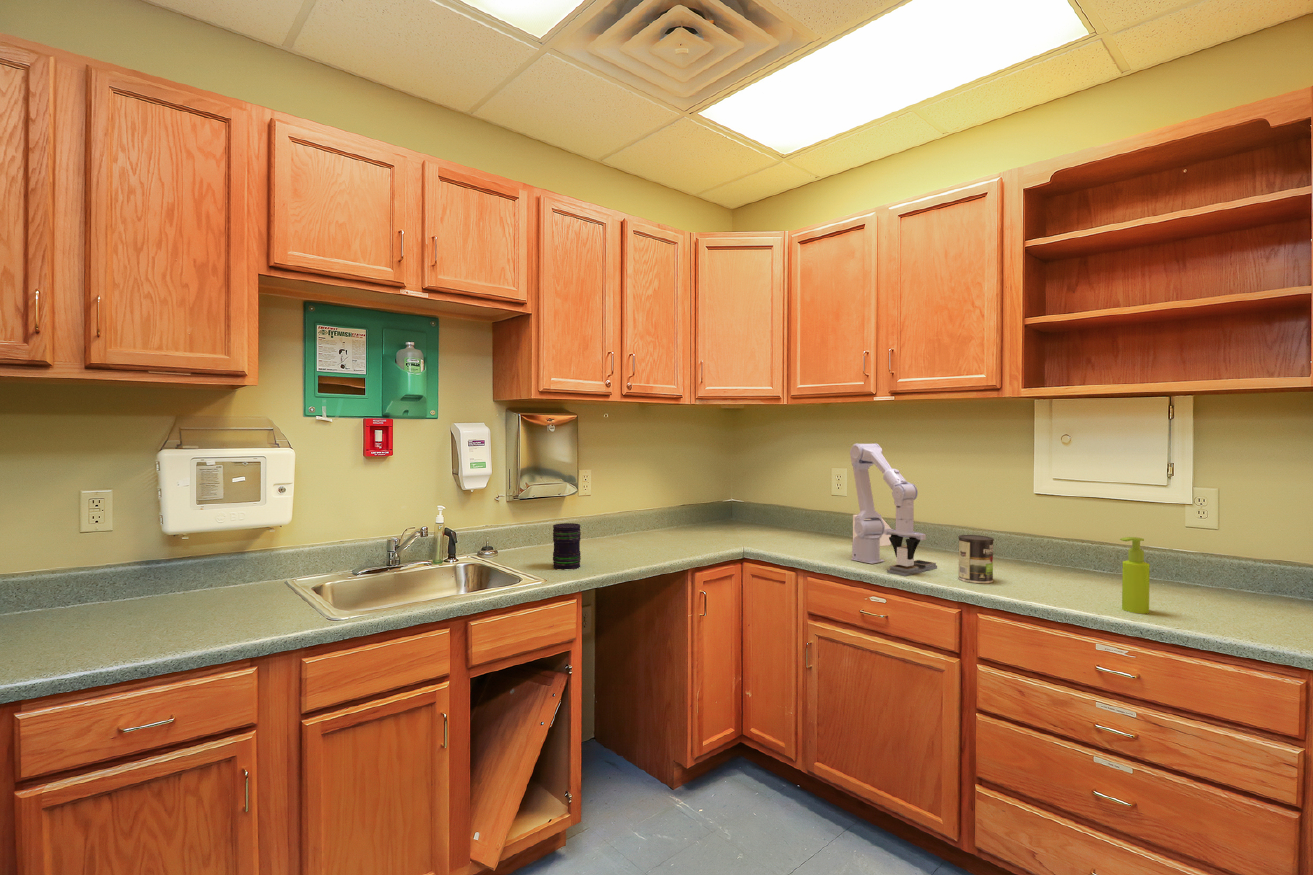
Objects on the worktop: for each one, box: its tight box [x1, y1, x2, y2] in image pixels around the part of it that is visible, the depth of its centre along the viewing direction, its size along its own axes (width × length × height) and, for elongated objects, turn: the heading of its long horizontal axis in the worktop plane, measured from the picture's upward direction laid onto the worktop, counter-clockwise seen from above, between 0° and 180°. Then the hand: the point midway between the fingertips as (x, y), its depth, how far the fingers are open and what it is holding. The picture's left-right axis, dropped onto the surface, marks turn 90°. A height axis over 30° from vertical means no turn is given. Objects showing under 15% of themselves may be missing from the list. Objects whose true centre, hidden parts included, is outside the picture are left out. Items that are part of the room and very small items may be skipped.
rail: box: [886, 559, 938, 577], centre depth 219 cm, size 7×20×2 cm, turn 127°
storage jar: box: [552, 522, 582, 570], centre depth 224 cm, size 10×10×15 cm
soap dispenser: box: [1119, 536, 1151, 615], centre depth 171 cm, size 6×7×20 cm
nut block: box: [896, 545, 915, 566], centre depth 217 cm, size 4×4×6 cm
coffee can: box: [958, 534, 995, 585], centre depth 206 cm, size 10×10×14 cm
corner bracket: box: [852, 514, 892, 547], centre depth 270 cm, size 11×11×12 cm
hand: (904, 558), depth 216 cm, fingers closed on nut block, 4 cm apart
